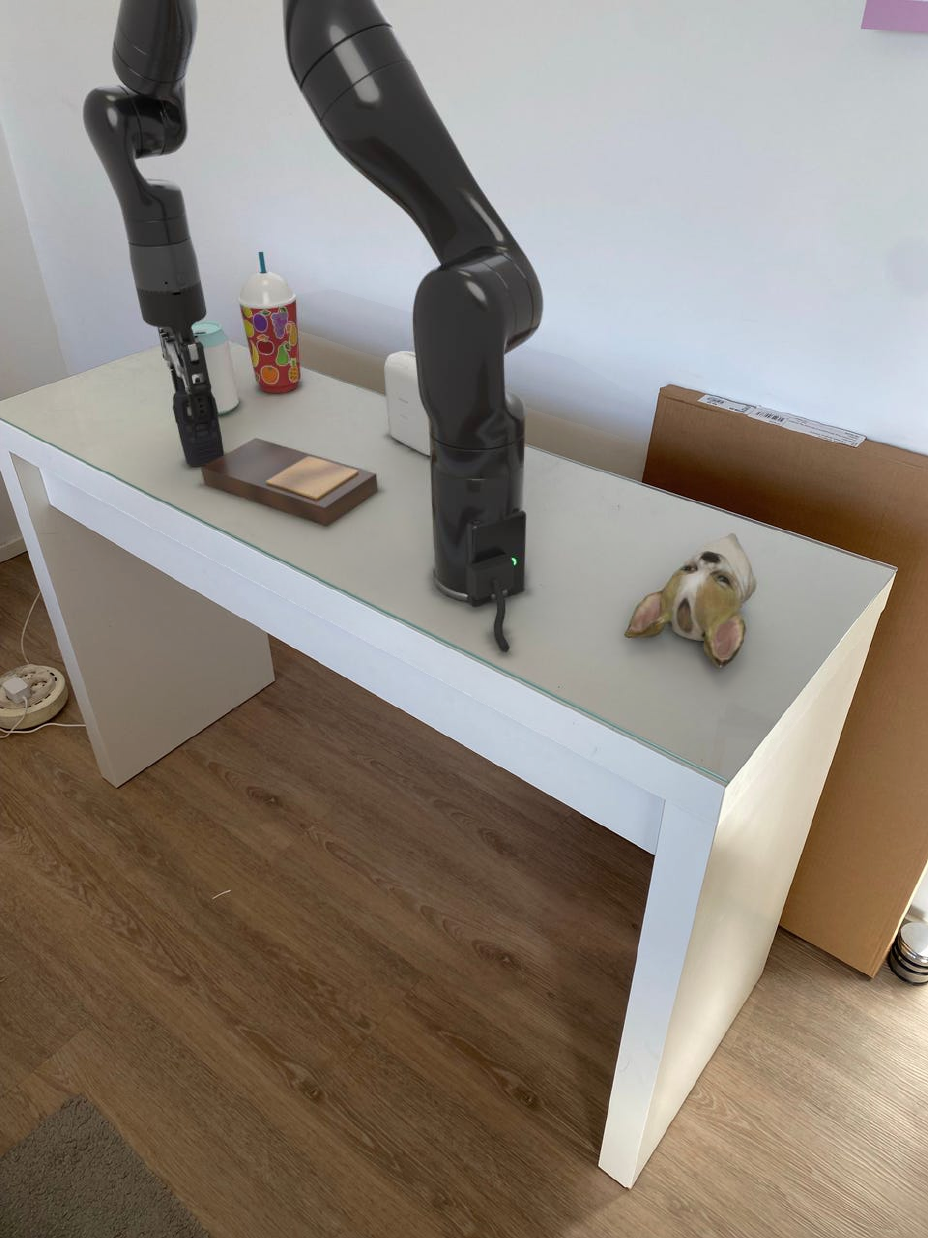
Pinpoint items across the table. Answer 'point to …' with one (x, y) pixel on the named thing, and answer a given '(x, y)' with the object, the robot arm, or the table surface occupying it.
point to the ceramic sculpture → (702, 601)
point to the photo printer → (405, 402)
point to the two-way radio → (197, 429)
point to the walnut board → (290, 480)
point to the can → (218, 364)
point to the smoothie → (271, 330)
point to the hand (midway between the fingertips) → (193, 408)
